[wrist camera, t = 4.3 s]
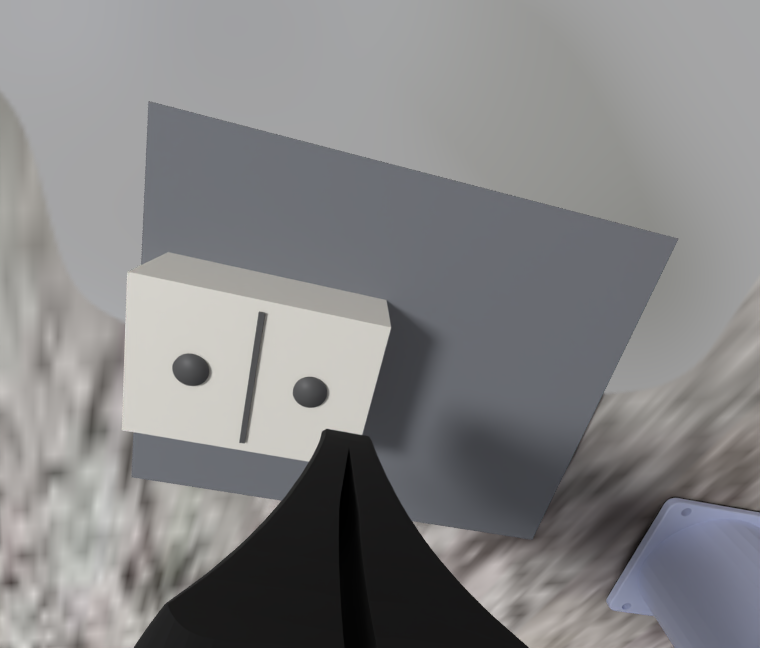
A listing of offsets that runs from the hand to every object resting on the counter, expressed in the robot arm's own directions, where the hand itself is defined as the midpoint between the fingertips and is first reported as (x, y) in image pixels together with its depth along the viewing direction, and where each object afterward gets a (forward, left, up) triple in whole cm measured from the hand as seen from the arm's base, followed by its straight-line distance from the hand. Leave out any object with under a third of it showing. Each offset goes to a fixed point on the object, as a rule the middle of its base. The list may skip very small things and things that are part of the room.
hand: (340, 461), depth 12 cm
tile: (-1, 0, -5) cm, 5 cm away
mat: (-2, 0, -7) cm, 7 cm away
